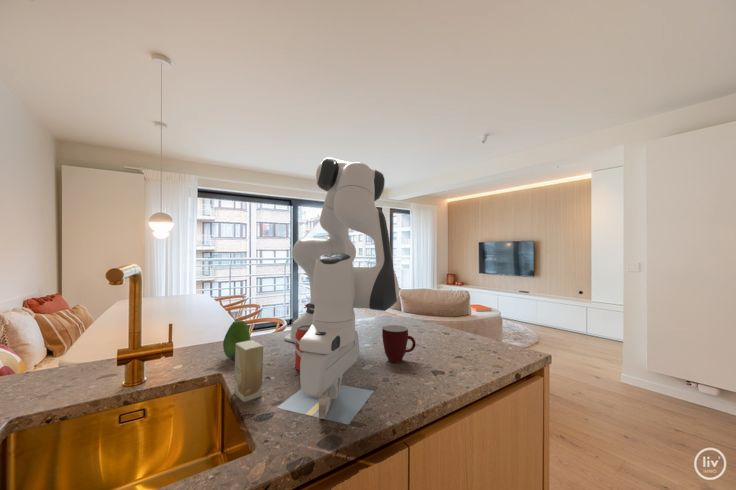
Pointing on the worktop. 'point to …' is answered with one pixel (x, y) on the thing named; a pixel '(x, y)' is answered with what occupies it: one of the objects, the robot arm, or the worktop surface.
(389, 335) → the mug
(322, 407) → the fence panel
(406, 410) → the worktop surface
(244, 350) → the skincare box
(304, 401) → the card
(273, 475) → the worktop surface
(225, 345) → the fruit
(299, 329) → the beverage can
